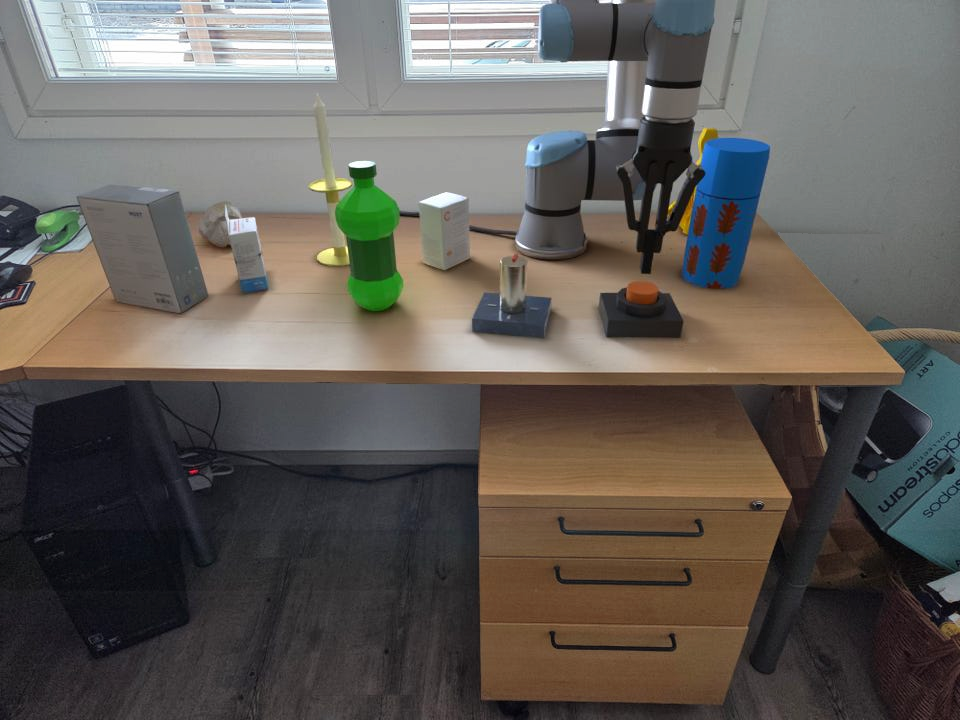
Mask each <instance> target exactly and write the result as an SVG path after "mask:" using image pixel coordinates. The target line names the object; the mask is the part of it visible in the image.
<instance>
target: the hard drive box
mask: <svg viewBox="0 0 960 720" xmlns="http://www.w3.org/2000/svg"><path fill="white" fill-rule="evenodd" d="M76 200H77V202H78V205H79V208H80V211H81V213H82V216H83V218H84V222H85V224H86V226H87V229H88V232H89V234H90V238H91V240H92V243H93V245H94V248H95V251H96V253H97V256H98V258H99V261H100V264H101V267H102V269H103V272H104V274H105V277H106V280H107V282H108V285H109V288H110V290H111V294H112V296H113V298H114V301H115V302H117V303H122V304H126V305H131V306H138V307H142V308H143V307H144V308H150V309H153V310H154V309H156V310H159V311H163V312H171V313H176V314H181V313H184V312H185V311H186V310H188V309H190V308H191V307H193V306H195V305H196V304H197V303H200V302H201V301H203V300H205V299H206V298H208V297H209V291H208V287H207V286H206V282H205V277H204V274H203V270H202V268H201V264H200V259H199V257H198V253H197V249H196V246H195V243H194V239H193V236H192V232H191V229H190V225H189V222H188V218H187V214H186V211H185V208H184V205H183V200H182V197H181V194H180V190H176V189H172V190H171V189H167V188H166V189H165V188H156V187H143V186H130V185H120V184H108V185H105V186H101V187H99V188H96V189H93V190H90V191H88V192H84V193H81V194H79V195H76Z"/></svg>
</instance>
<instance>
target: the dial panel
mask: <svg viewBox="0 0 960 720" xmlns="http://www.w3.org/2000/svg"><path fill="white" fill-rule="evenodd" d="M551 310H552V297H546V296H545V297H544V296H534V295H526V309H525V310H524V311H523V312H520V313H506V312H504V311H502V310H501V309H500V292H489V291H488V292H486V291H484V292H483V293H482V296H481V298H480V300H479V302H478V304H477V307H476V309H475V311H474V313H473V316H472V317H471V331H472V332H473V333H485V334H494V335H505V336H514V337H527V338H535V339H536V338H537V339H545V335H546V330H547V327H548V323H549V320H550V319H549V318H550V315H551Z"/></svg>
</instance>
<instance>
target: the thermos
mask: <svg viewBox="0 0 960 720" xmlns="http://www.w3.org/2000/svg"><path fill="white" fill-rule="evenodd" d="M770 154H771V146H770V145H769V144H768V143H766V142H763V141H760V140H757V139H756V140H755V139H752V138H751V139H750V138H744V137H743V138H742V137H718V138H716V139H711V140H708V141H707V142H706V143H705V147H704V150H703V154H702V159H701V165H700V166H702V168H703V169H704V171H705V173H706V174H705V176H704V178H703V179H702V180H701V181H700V182H699V183H698V184H697V188H696V192H695V198H694V203H693V209H692V214H691V220H690V226H689V231H688V235H687V236H686V242H685V247H684V248H685V249H684V253H683V261H682V269H681V276H682V278H683V279H684V280H685V281H686V282H687V283H689V284H691V285H693V286H697V287H700V288H703V289H711V290H723V289H730V288H733V287H735V286H737V285H738V283H739V280H740V277H741V274H742V272H743V271H742V270H743V267H744V264H745V260H746V256H747V252H748V248H749V243H750V239H751V235H752V231H753V227H754V223H755V218H756V214H757V211H758V206H759V201H760V197H761V193H762V189H763V185H764V181H765V177H766V172H767V168H768V165H769V160H770Z"/></svg>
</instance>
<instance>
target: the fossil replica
mask: <svg viewBox="0 0 960 720" xmlns="http://www.w3.org/2000/svg"><path fill="white" fill-rule="evenodd" d="M225 205H226V208H227V213H228V217H229V220H233V219H241V218H243V217H242V214H241V212H240V210H239V209H238V207H237V206H236V205H235V206H234V205H233V204H232V203H231V202H230V201H228V200H224V201H220V202H217V203H214V204H212V205H211V206H209V207H207V209H206V210H205V211H204V212H203V217H201V218H200V219H199V222H198V233H199V235H200V237H201V238H202V239H204V240H207V241H209V242H210V243H211V244H212V245H214V246H216V247H218V248H226V247H227V246H231V243H230V239H229V235H228V230H227V225H226V220H225Z"/></svg>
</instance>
